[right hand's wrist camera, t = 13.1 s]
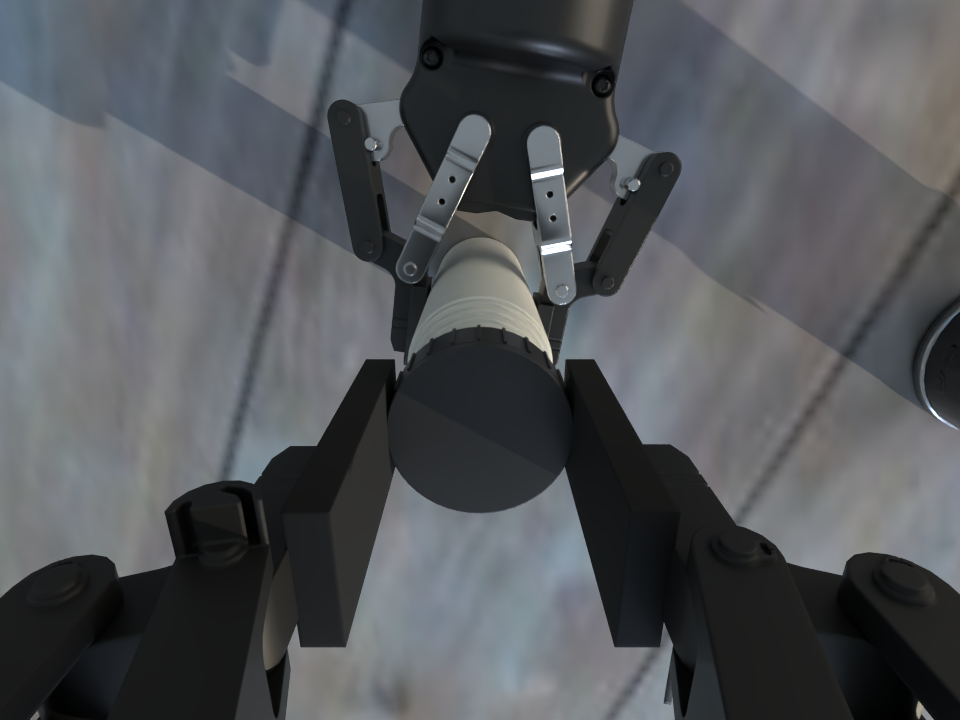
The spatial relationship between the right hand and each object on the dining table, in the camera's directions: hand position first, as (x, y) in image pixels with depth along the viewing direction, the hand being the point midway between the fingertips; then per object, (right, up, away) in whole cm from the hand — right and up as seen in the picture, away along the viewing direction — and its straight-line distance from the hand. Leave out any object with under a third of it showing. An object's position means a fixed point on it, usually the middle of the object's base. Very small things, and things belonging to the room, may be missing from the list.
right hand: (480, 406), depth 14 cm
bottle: (0, +6, +15) cm, 16 cm away
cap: (0, 0, -1) cm, 1 cm away
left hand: (0, +1, +10) cm, 10 cm away
